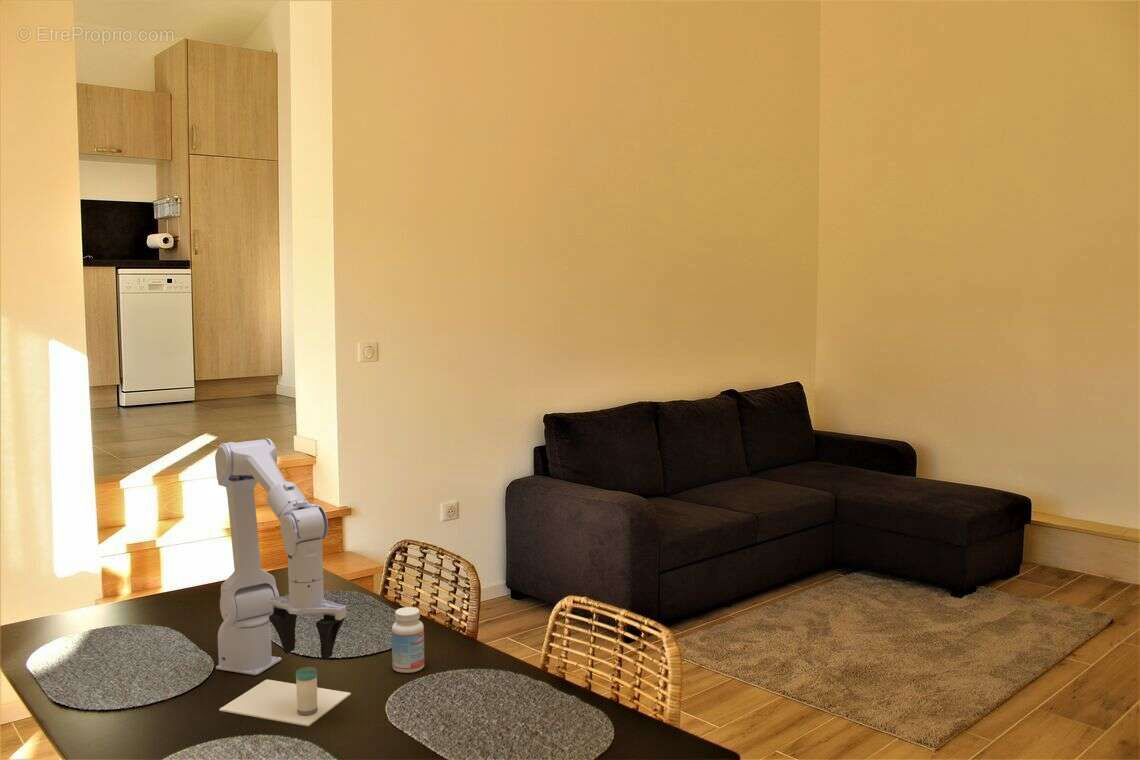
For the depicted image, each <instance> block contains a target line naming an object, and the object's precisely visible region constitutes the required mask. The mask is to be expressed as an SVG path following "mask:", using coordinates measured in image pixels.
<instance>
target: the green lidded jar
mask: <svg viewBox="0 0 1140 760" xmlns="http://www.w3.org/2000/svg"><path fill="white" fill-rule="evenodd" d="M295 680H296V683H295V684H296V689H297V714H298V715H301V716H309V715H313V714H315V713H316V712H317V711H318V703H317V688H318V669H317V668H316V667H314V666H306V667H304V666H303V667H300V668H298V669H296V671H295Z"/></svg>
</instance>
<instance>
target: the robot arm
mask: <svg viewBox="0 0 1140 760" xmlns="http://www.w3.org/2000/svg"><path fill="white" fill-rule="evenodd" d="M214 455H215V456H214V459H215V460H214V461H215V472H216V480H217V485H218V486H221V487H223V488H225V490H226V498H227V506H228V517H229V527H230V537H231V548H232V558H233V568H234V571H233V572H232V573H231V575H229V576H228V577H227V578H226V580H224V582H222V583H221V585H220V598H219V609H220V614H221V618H222V619H223V621H222V623H221V625H219V628H218V631H217V650H218V651H217V653H218V655H217V656H218V665H216V666H215V669H216V670H220V671H227V672H234V673H239V674H244V675H251V676H257V675H259V674H261V673H263V672H264V671H266V670H267V669H270V668H271V667H273V666H274V665H276V664H278V663H279V662H281V661H282V657H280V656H273V655H272V633H271V632H272V629H271V628H272V627H271V625H272V626H273V627H274V629H275V631H276V633H277V635H278V638H279V639H280V640H279V641H280V644H281V646H282V649H283V653H284V654H285V655H288V654H289V653H291V652H293V651H294V650H295V647H296V623H297V618H298V617H297V616H298V615H300V614H304V615H305V614H306V615H312V616H319V617H323V618H321V619H319V620H318V621H316V622H315V626H316V629H317V632H318V636H319V640H320V655H321V660H328V659H329V658H330V657H332V656H333V651H334V646H335V644H336V643H335V642H336V639H337V637H338V633H339V630H340V628H341V626H342V624H343V623H344V620H345V618H346V617H347V605H343V604H339V603H336V602H333V601H330V600H328V599H325V598H324V597H325V595H324V564H323V556H324V555H323V540H324V539H326V537H327V536H328V532H329V521H328V517H327V516H328V515H327V514H326V512H325V510H324V508H323V507H322V506H321V505H318V504H317V505H316V504H315V503H310V502H309V501H308V499H307V498H306V497H305V495H304V494H303V493H302V491H301V490H300V489H299V487H298V486H297V485H296V484H295V483H294V482H292V481H286V479H285V477H284V476H283V474H282V472H281V470H280V468H279V466H278V464H277V463H278V451H277V447H276V445H275V443H274V441H272V439H270V438H267V437H265V438H263V439H256V440H255V439H254V440H246V441H245V440H244V441H238V442H228V443H226V442H222V443H220V444H219V446H218V447H217V449H216V451H215V454H214ZM257 484H259V485H260V486H261V487H262V488H263V489H264V491H265V492H266V493H267V496H266V503H267V505H268V506H269V508H270V509H271V511H272V513H274V515H275V516H276V517H275V518H277V520H278V521H279V522H280V527H279V528H280V534H281V537H282V540H283V550H284V553H285V554H287V570H288V571H287V573H288V575H287V576H288V581H287V582H288V596H280V593H279V590H278V587H277V582H276V578H275V576H274V575H273V574H272V573H269V572H268V571H266V570H264V569H262V561H261V559H262V558H261V550H260V541H259V540H260V539H259V532H258V531H259V530H258V529H259V528H258V520H257V519H258V517H257V509H256V499H255V488H256V486H257Z"/></svg>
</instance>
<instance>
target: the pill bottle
mask: <svg viewBox="0 0 1140 760" xmlns="http://www.w3.org/2000/svg"><path fill="white" fill-rule="evenodd" d="M420 617H421V613H420V609H419V608H417V607H413V606H405V607H401V608H397V609H396V610H395V613H394V618H395V622H394V623H393V624H392V625H391V655H392V656H391V659H392V664H391V665H392V669H393V670H394V671H395V672H396V673H403V674H404V673H407V674H408V673H409V674H411V673H416V672H419V671H421V670H422V669H423V668H424V667H425V628H424V623H423V622H422V621H421V620H419V619H420Z"/></svg>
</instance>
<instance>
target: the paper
mask: <svg viewBox="0 0 1140 760" xmlns="http://www.w3.org/2000/svg"><path fill="white" fill-rule="evenodd" d="M351 695H352V693H351V692H349V691H341V690H334V689H329V688H324V687H317V703H318V711H317V712H316V713H315V714H313V715H309V716H301V715H298V714H297V689H296V683H291V682H286V681H285V682H284V681H279V680H273V679H265V680H263V681H261V682H259V684H257V685H255V686H254V687H252V688H250V689H249V690H246V692H244V693H243V694H241V695H239V696H238V697H236V698H235V699H233V700H232V701H230V702H228V703H227V704H225V705H224V706H221V707H220V708H219V709H218V710H219V712H223V713H231V714H237V715H242V716H249V717H253V718H258V719H264V720H268V721H269V720H270V721H274V722H275V721H276V722H281V723H287V724H293V725H298V726H304V727H310V726H311V725H312V724H314V723H315V722H316V721H317V720H319V719H320V718H322V717H323V716H324V715H326V714H327V713H328V712H329V711H331V710H332V709H334V708H335V707H336V706H337V705H339V704H340V703H342V702H343V701H344V700H345V699H347V698H348V697H350V696H351Z"/></svg>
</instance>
